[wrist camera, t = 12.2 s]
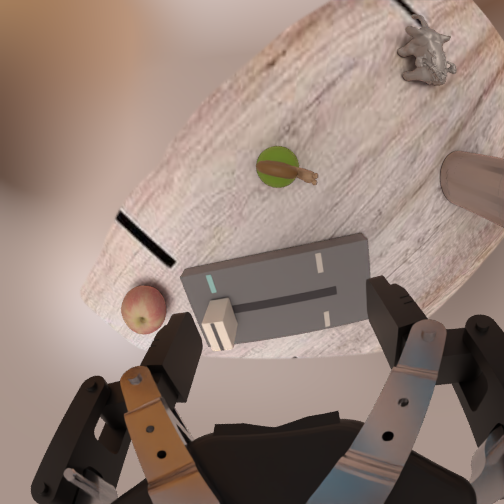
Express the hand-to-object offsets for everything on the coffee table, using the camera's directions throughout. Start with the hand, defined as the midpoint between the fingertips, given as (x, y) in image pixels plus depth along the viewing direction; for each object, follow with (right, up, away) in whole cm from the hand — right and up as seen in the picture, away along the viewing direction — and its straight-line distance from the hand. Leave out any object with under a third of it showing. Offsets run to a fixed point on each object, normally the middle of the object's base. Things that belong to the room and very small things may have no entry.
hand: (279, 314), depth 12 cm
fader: (-5, -7, +30) cm, 31 cm away
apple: (-19, -5, +34) cm, 39 cm away
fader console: (+3, -4, +32) cm, 32 cm away
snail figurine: (+3, +15, +25) cm, 29 cm away
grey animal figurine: (+23, +33, +16) cm, 44 cm away
